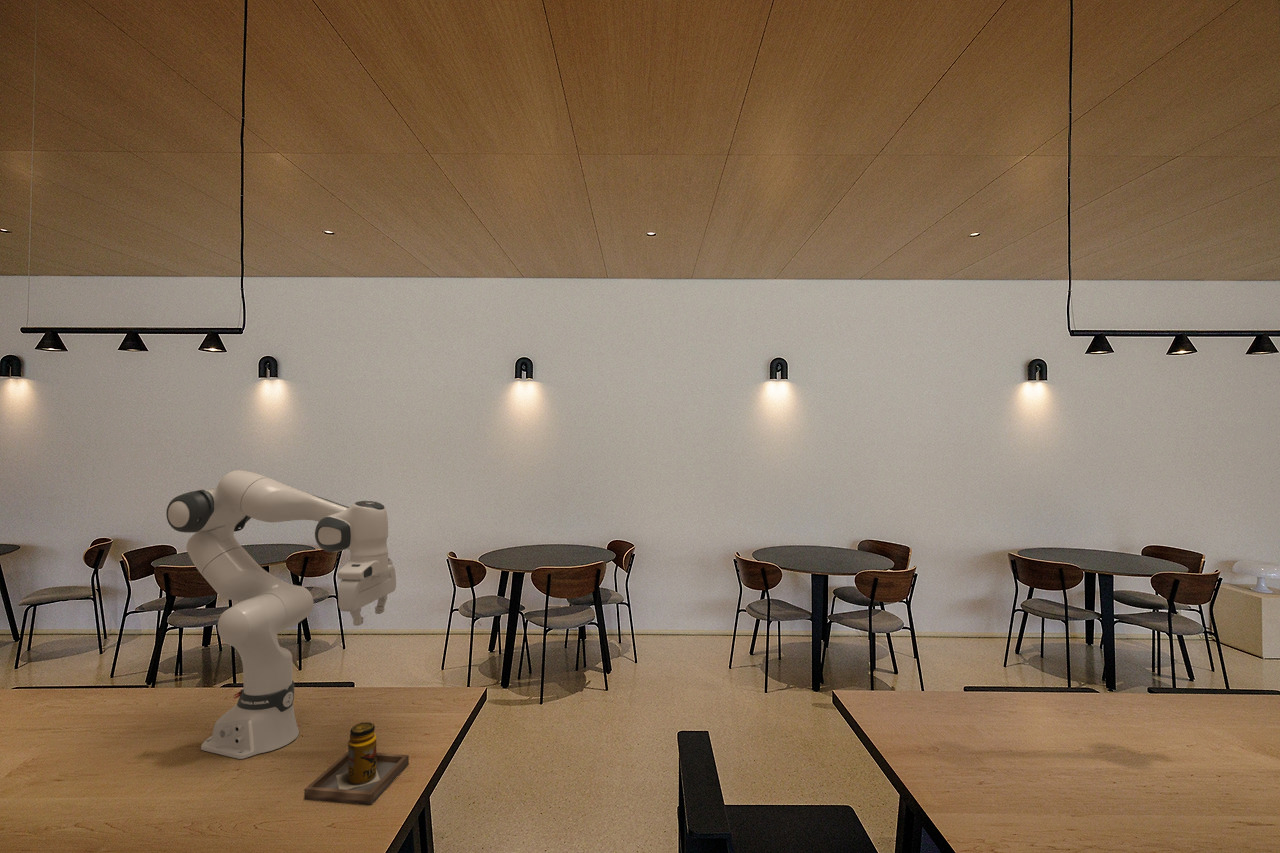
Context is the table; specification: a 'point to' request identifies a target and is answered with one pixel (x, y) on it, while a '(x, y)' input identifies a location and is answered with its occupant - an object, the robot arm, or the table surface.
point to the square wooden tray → (366, 794)
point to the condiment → (360, 758)
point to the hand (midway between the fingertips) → (369, 618)
